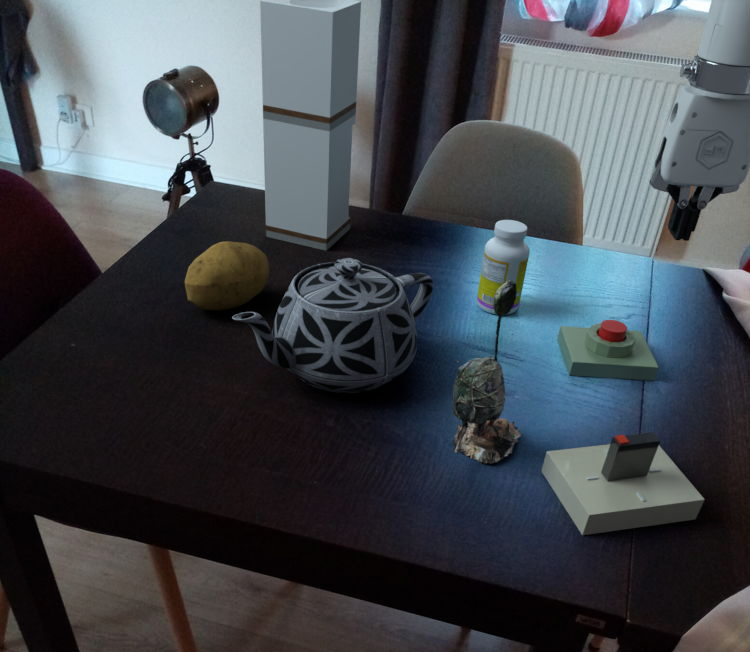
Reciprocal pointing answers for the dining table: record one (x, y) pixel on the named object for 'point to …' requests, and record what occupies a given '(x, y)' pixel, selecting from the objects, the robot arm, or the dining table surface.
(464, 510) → the dining table surface
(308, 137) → the banded white pillar
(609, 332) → the cutoff button
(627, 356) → the cutoff housing
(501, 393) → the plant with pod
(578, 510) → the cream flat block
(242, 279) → the potato
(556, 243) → the dining table surface
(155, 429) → the dining table surface
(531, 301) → the dining table surface
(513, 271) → the supplement bottle
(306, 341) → the teapot
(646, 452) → the dark grey rectangular block
